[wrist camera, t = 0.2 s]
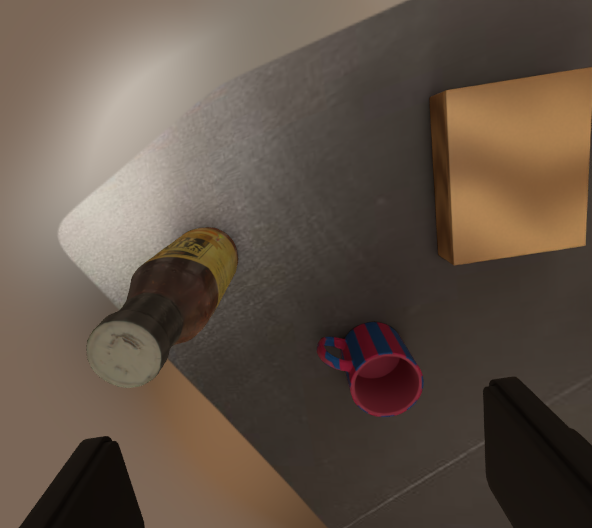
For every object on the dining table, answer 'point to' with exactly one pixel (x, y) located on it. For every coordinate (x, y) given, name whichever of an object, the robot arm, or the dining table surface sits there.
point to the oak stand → (512, 166)
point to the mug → (376, 368)
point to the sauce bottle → (163, 307)
